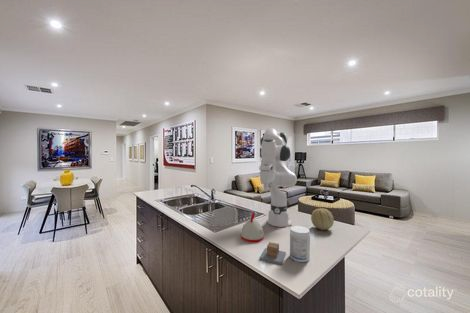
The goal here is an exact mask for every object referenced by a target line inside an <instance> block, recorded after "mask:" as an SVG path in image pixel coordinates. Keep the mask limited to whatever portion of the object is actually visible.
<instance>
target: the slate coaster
mask: <svg viewBox="0 0 470 313" xmlns="http://www.w3.org/2000/svg"><path fill="white" fill-rule="evenodd" d="M286 255H287V253H286V251H283V250H279V254H278V257H277V258H275V257H270V256H267V247H264V248H263V251H262V252H261V254H260V256H259V260H260V261H263V262H267V263H272V264H276V265H280V266H282V265H283V263H284V260H285V257H286Z"/></svg>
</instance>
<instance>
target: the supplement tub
mask: <svg viewBox="0 0 470 313" xmlns="http://www.w3.org/2000/svg"><path fill="white" fill-rule="evenodd" d="M289 229H290V231H289V232H290V233H289V256H290V259H292V260H293V261H295V262H297V263H307V262H309V261H310V258H311V257H310V255H311V254H310V249H311V246H310V245H311V233H310V229H309V228H308V227H304V226H301V225H294V226H291V227H290V228H289Z"/></svg>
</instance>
